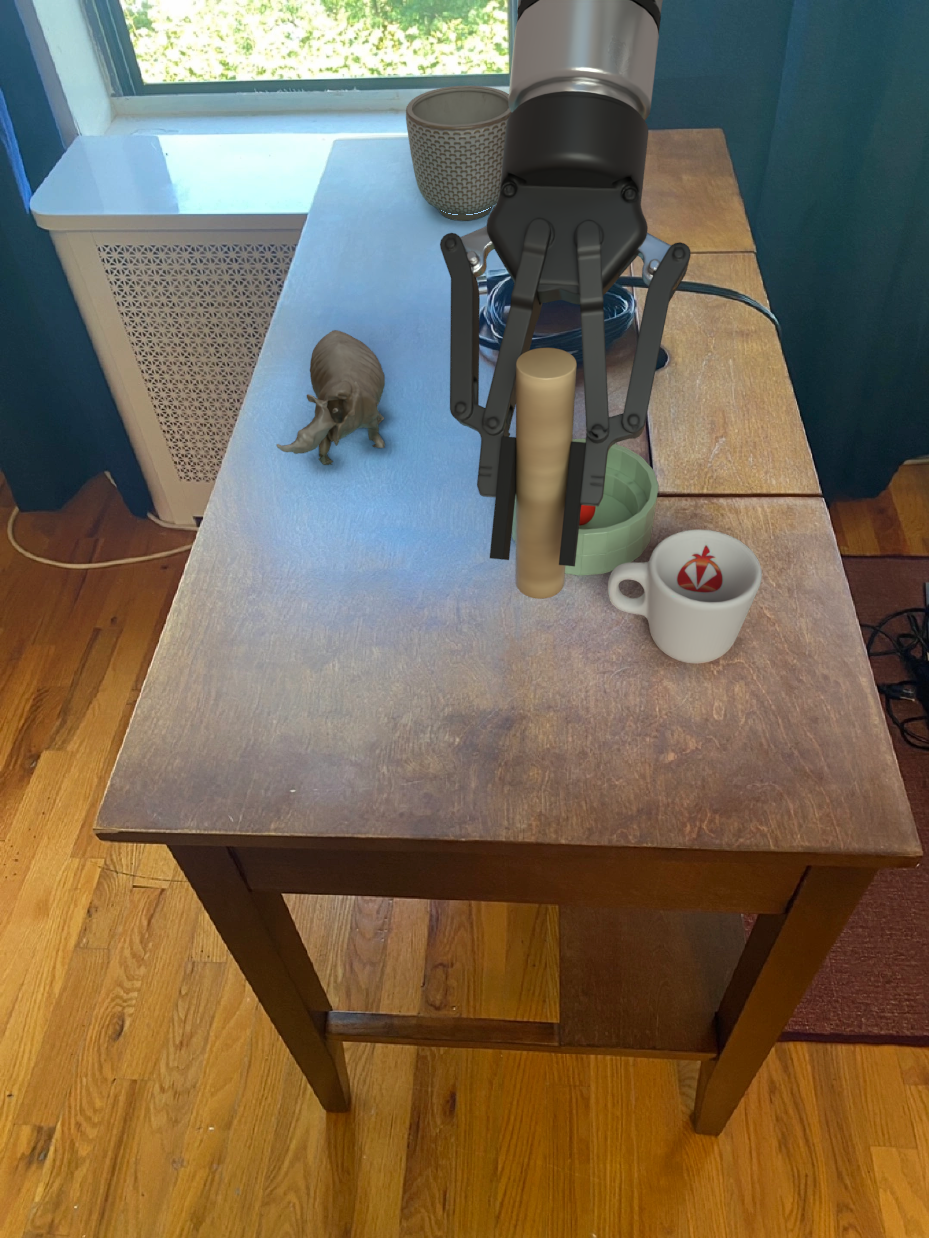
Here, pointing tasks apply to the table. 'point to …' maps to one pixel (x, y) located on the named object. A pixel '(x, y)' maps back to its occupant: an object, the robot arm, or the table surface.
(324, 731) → the table surface
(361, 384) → the grey animal figure
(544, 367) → the tan wooden cylinder
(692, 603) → the cup
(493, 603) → the table surface
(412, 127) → the planter
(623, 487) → the bowl
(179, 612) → the table surface
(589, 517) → the cherry tomato
